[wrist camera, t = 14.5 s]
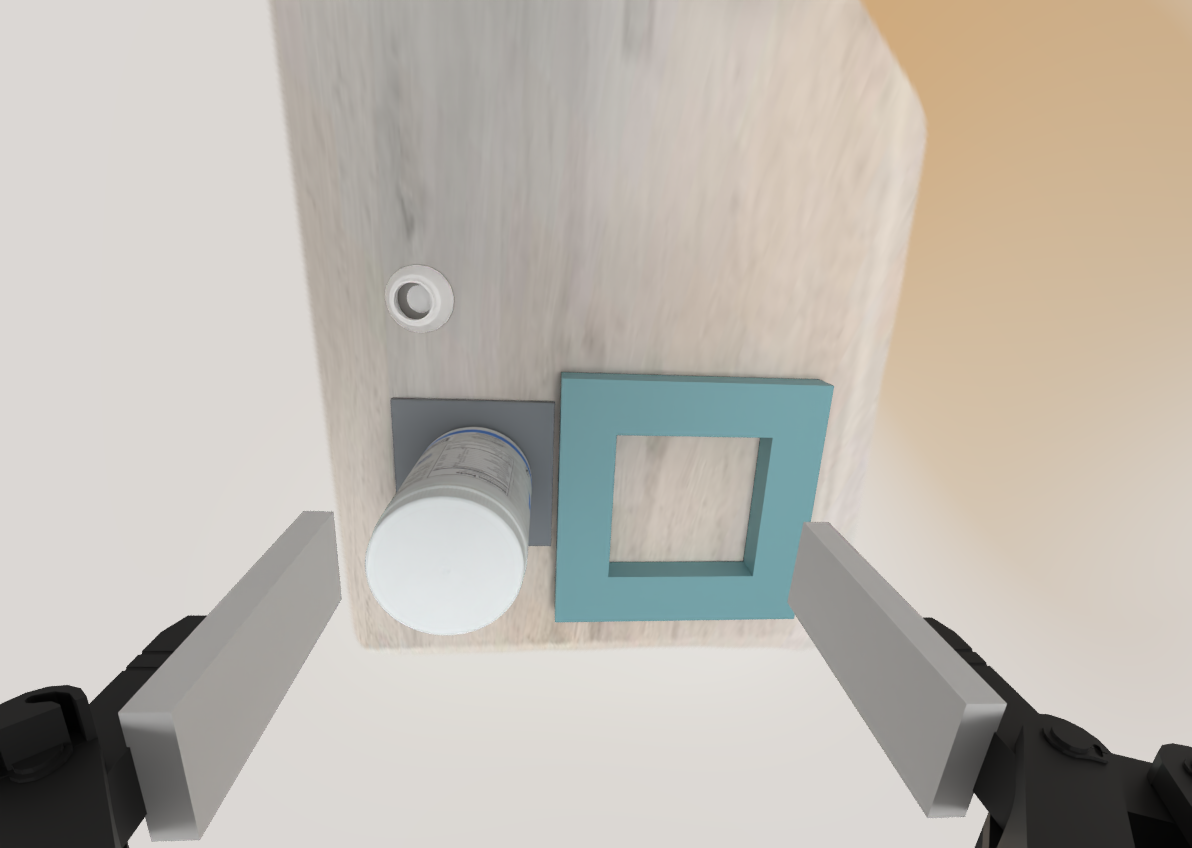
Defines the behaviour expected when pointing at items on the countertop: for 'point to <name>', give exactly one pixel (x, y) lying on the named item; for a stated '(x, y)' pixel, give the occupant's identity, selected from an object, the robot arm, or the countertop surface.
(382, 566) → the supplement tub
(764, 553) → the holder frame
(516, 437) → the slate mat
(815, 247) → the countertop surface
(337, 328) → the countertop surface
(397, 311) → the white jar
